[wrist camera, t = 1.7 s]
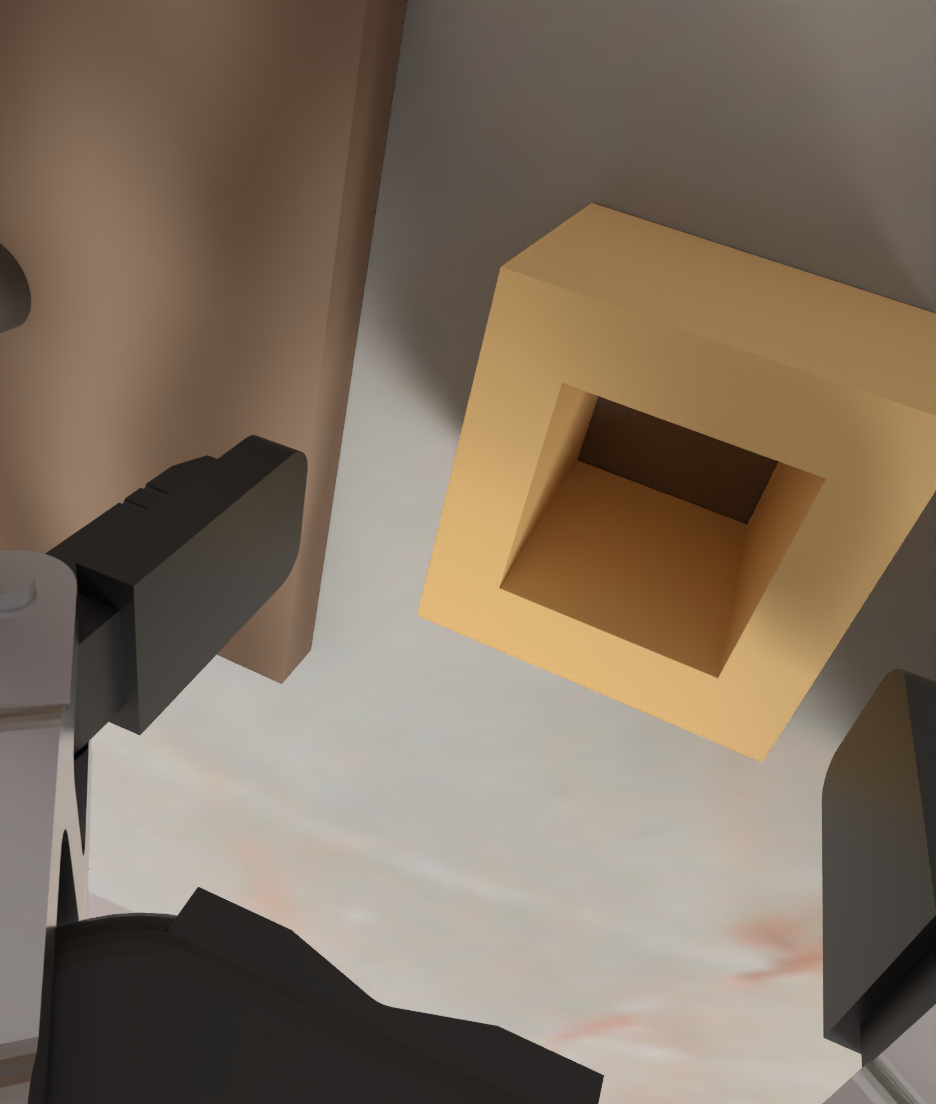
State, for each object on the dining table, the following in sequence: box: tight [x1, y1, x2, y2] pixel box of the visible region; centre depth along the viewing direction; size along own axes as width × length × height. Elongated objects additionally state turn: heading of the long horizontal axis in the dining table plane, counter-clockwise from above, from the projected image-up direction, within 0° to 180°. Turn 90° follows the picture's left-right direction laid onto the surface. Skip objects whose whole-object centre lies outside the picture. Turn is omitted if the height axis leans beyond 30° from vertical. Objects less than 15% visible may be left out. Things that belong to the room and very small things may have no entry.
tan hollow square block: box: [417, 203, 936, 762], centre depth 14 cm, size 6×6×5 cm
